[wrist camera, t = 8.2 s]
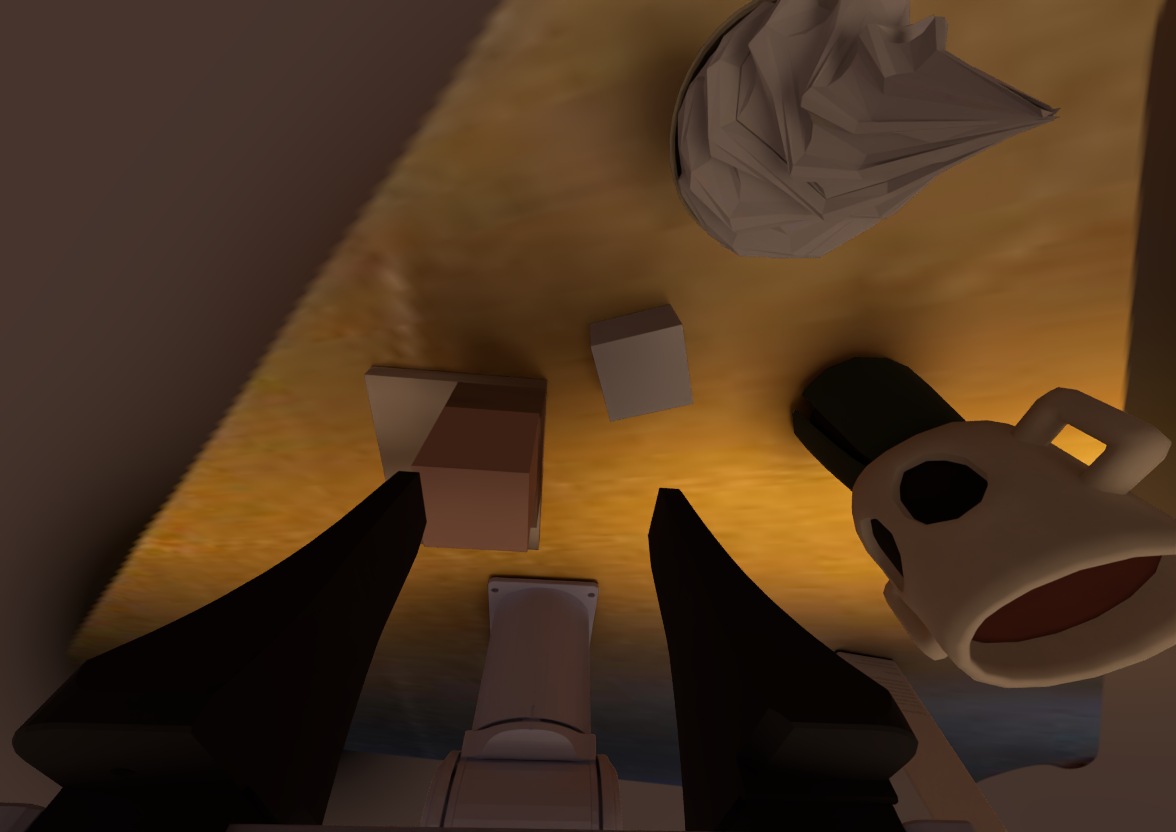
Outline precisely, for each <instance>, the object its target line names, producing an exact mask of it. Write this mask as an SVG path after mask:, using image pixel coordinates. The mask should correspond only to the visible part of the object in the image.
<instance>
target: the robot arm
mask: <svg viewBox="0 0 1176 832" xmlns="http://www.w3.org/2000/svg"><path fill="white" fill-rule="evenodd" d="M426 524H427V519H426V512H425V506H424V499H423V492H422V485H421V479H420V472H409V471H398V472H397V473H395V474H394V475H393V476H392V477H391V478H389V479H388V480H387V481H386V482H385V483H383V484H382V485H381V486H380V487H379V488H378V489H376V490H375V491H374V492H373V493H372V494H371V495H369V496H368V497H367V498H366V499H365V500H363V501H362V502H361V503H360V504H359V505H357V506H356V507H355V508H354V509H353V510H351V511H350V512H349V513H348V514H346V515H345V516H344V517H343V518H342V519H340V520H339V521H338V522H336V523H335V524H334V525H333V526H331V527H330V528H329V529H327V530H326V531H325V532H323V533H322V534H321V535H319V536H318V537H317V538H315V539H314V540H313V541H311V542H310V543H309V544H307V545H306V546H304V547H303V548H301V549H300V550H298V551H297V552H296V553H294V554H293V555H291V556H290V557H288V558H286V559H285V560H283V561H282V562H280V563H279V564H277V565H276V566H274V567H272V568H271V569H269V570H268V571H266V572H264V573H263V574H261V575H259V576H258V577H256V578H254V579H252V580H251V581H249V582H247V583H245V584H244V585H242V586H240V587H238V588H237V589H235V590H233V591H231V592H230V593H228V594H226V595H224V596H223V597H221V598H219V599H217V600H215V601H213V602H211V603H209V604H208V605H206V606H204V607H202V608H200V609H198V610H196V611H194V612H192V613H190V614H188V615H186V616H184V617H182V618H180V619H178V620H176V621H174V622H172V623H170V624H168V625H165V626H163V627H161V628H159V629H157V630H155V631H153V632H151V633H148V634H146V635H144V636H142V637H139V638H137V639H135V640H133V641H130V642H128V643H126V644H123V645H121V646H119V647H117V648H114V649H112V650H110V651H108V652H105V653H103V654H101V655H98V656H96V657H94V658H91V659H89V660H87V661H86V662H85V663H84V664H82V665H81V666H80V667H79V668H78V669H77V670H76V671H75V672H74V673H73V674H72V675H71V676H70V677H69V678H68V679H67V680H66V682H65V683H64V684H62V686H61V687H60V688H59V689H57V691H56V692H55V693H54V694H53V695H52V696H51V697H50V698H49V699H48V700H47V701H46V702H45V703H44V704H43V705H42V706H41V707H40V708H39V709H38V710H37V711H36V712H35V713H34V714H33V715H32V716H31V717H30V718H29V719H28V720H27V721H26V722H25V723H24V724H23V725H22V726H21V727H20V728H19V729H18V730H17V731H16V732H15V734H14V736H13V738H12V745H13V748H14V750H15V752H16V753H17V754H18V755H19V756H20V757H21V758H22V759H23V760H25V761H26V762H27V763H29V764H30V765H31V766H33V767H34V768H36V769H37V770H39V771H40V772H42V773H43V774H44V775H46V776H47V777H49V778H50V779H52V780H53V781H54V782H56V783H58V784H59V785H60V786H62V787H63V788H62V789H61V791H60V792H59V793H58V794H57V795H56V797H55V798H54V799H53V800H52V801H51V803H50V804H49V805H48V806H47V807H46V808H45V807H42V806H38V805H34V804H27V803H5V802H0V832H977V830H976V828H975V827H974V825H973V824H972V823H970V822H968V821H966V820H912V821H908V822H904V823H901V821H900V819H899V817H898V815H897V812H896V810H895V808H894V806H893V805H896V804H897V803H898V796H897V794H896V792H895V790H894V788H893V786H892V784H891V782H890V780H889V778H891V777H892V776H893V775H894V774H895V773H896V772H898V771H899V770H900V769H901V768H902V767H904V766H905V765H906V764H907V763H908V762H909V761H910V760H911V759H912V758H913V757H914V756H915V754H916V751H917V747H918V743H919V742H918V740H917V738H916V736H915V734H914V733H913V731H912V729H911V727H910V725H909V724H908V722H907V720H906V718H905V716H904V715H903V713H902V711H901V709H900V708H899V706H898V705H897V703H896V701H895V700H894V698H893V697H892V695H891V694H890V692H889V691H888V689H886V688H885V687H883V686H882V685H880V684H879V683H877V682H876V681H874V680H873V679H872V678H870V677H869V676H867V675H866V674H864V673H863V672H861V671H860V670H858V669H857V668H856V667H854V666H853V665H851V664H850V663H848V662H847V661H845V660H844V659H843V658H841V657H840V656H839V655H837V654H836V653H835V652H833V651H832V650H831V649H829V648H828V647H827V646H825V645H824V644H823V643H822V642H820V641H819V640H818V639H816V638H815V637H814V636H813V635H811V634H810V633H809V632H808V631H806V630H805V629H804V628H803V627H802V626H800V625H799V624H798V623H797V622H796V621H795V620H793V619H792V618H791V617H790V616H789V615H788V614H787V613H785V612H784V611H783V610H782V609H781V608H780V607H779V606H778V605H776V604H775V603H774V602H773V601H772V600H771V599H770V598H769V597H768V596H767V595H766V594H765V593H764V592H763V591H762V590H761V589H760V588H759V587H758V586H757V585H756V584H755V583H754V582H753V581H752V580H751V579H750V578H749V577H748V576H747V575H746V574H745V573H744V572H743V571H742V569H741V568H740V567H739V566H738V565H737V564H736V563H735V561H734V560H733V559H732V558H731V557H730V556H729V554H728V553H727V552H726V551H725V550H724V548H723V547H722V546H721V545H720V543H719V542H718V541H717V540H716V538H715V537H714V536H713V535H712V533H711V532H710V531H709V529H708V528H707V527H706V525H705V524H704V523H703V521H702V520H701V519H700V517H699V516H698V514H697V513H696V512H695V510H694V509H693V507H692V506H691V505H690V503H689V502H688V500H687V499H686V498H685V496H684V495H683V493H682V492H681V491H680V490H679V489H670V488H659V492H658V496H657V500H656V504H655V509H654V513H653V517H652V521H651V525H650V529H649V534H648V539H649V551H650V561H651V569H652V573H653V578H654V583H655V588H656V592H657V597H658V601H659V606H660V611H661V615H662V620H663V624H664V629H665V634H666V638H667V644H668V650H669V656H670V664H671V673H672V681H673V690H674V699H675V708H676V718H677V728H678V739H679V750H680V761H681V773H682V787H683V800H684V815H685V830H686V831H649V830H646V831H645V830H622V816H621V801H620V791H619V783H618V777H617V773H616V770H615V768H614V767H613V766H612V764H611V763H610V762H609V759H608V757H607V756H606V755H596V743H595V735H593V734H590V666H589V645H590V639H591V633H592V628H593V622H594V616H595V610H596V604H597V598H598V592H599V586H598V584H597V583H594V582H580V581H560V580H540V579H521V578H501V577H493V578H491V579H490V580H489V583H488V596H489V617H490V640H489V645H488V650H487V655H486V661H485V666H484V671H483V676H482V681H481V686H480V692H479V697H478V702H477V707H476V712H475V717H474V722H473V728H472V731H466V732H465V737H464V742H463V747H462V752H461V751H451V752H450V753H449V754H448V756H447V758H446V759H445V760H444V761H443V762H442V763H441V764H440V765H439V766H438V768H437V770H436V772H435V774H434V777H433V779H432V783H431V785H430V788H429V792H428V795H427V799H426V803H425V806H424V810H423V815H422V819H421V823H420V827H404V826H403V827H402V826H401V827H400V826H399V827H397V826H341V825H322V822H323V819H324V815H325V812H326V808H327V804H328V800H329V797H330V794H331V790H332V786H333V783H334V779H335V775H336V772H337V768H338V764H339V761H340V758H341V754H342V751H343V748H344V745H345V741H346V738H347V735H348V731H349V728H350V725H351V721H352V718H353V715H354V712H355V709H356V706H357V703H358V699H359V696H360V693H361V690H362V687H363V684H364V681H365V678H366V675H367V672H368V669H369V666H370V663H371V660H372V658H373V655H374V652H375V649H376V646H377V643H378V640H379V638H380V636H381V633H382V631H383V628H384V626H385V624H386V621H387V619H388V617H389V615H390V613H391V610H392V608H393V606H394V604H395V602H396V600H397V597H398V595H399V593H400V591H401V589H402V586H403V584H404V582H405V580H406V578H407V575H408V573H409V571H410V569H411V567H412V564H413V562H414V560H415V558H416V555H417V553H418V550H419V547H420V543H421V540H422V537H423V534H424V530H425V527H426Z"/></svg>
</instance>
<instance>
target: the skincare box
mask: <svg viewBox="0 0 1176 832" xmlns="http://www.w3.org/2000/svg"><path fill="white" fill-rule="evenodd" d="M836 654H837V655H839V656H840V657H841V658H843V659H844V660H845V661H847V662H848V663H850V664H851V665H853V666H854V667H856V668H857V669H858V670H860V671H861V672H863V673H864V674H866V675H867V676H869V677H870V678H872V679H873V680H874V681H876V682H877V683H879V684H880V685H882V686H883V687H885V688H886V689H888V691H889V692H890V694H891V695H892V697H893V698H894V700H895V701H896V703H897V705H898V706H899V708H900V709H901V711H902V713H903V715H904V716H905V718H906V720H907V722H908V724H909V725H910V727H911V729H912V731H913V733H914V734H915V736H916V738H917V740H918V742H919V743H918V747H917V751H916V754H915V756H914V757H913V758H912V759H911V760H910V761H909V762H908V763H907V764H906V765H905V766H904V767H902V768H901V769H900V770H899V771H898V772H896V773H895V774H894V775H893V776H892V777H891V778H889V780H890V782H891V784H892V786H893V788H894V790H895V792H896V794H897V796H898V803H897V804H896V805H893V806H894V808H895V810H896V812H897V815H898V817H899V819H900V821H901V823H904V822H908V821H912V820H966V821H968V822H970V823H972V824H973V825H974V827H975V828H976V830H977V832H1008V831H1007V830H1006V828H1005V827H1004V825H1003V824H1002V823H1001V821H1000V819H999V818H998V816H997V815H996V814H995V812H994V810H993V809H992V808H991V806H990V804H989V803H988V801H987V800H986V798H985V797H984V795H983V794H982V792H981V791H980V789H979V788H978V786H977V785H976V783H975V782H974V780H973V779H972V777H971V776H970V774H969V773H968V771H967V770H966V768H965V767H964V765H963V764H962V762H961V761H960V759H959V758H958V756H957V755H956V753H955V752H954V750H953V749H952V747H951V746H950V744H949V743H948V741H947V740H946V738H945V737H944V735H943V734H942V732H941V731H940V729H939V727H938V726H937V724H936V723H935V721H934V720H933V718H932V717H931V715H930V714H929V712H928V711H927V709H926V708H925V706H924V705H923V703H922V702H921V700H920V699H919V697H918V696H917V694H916V693H915V691H914V690H913V688H912V687H911V685H910V684H909V682H908V681H907V679H906V678H905V676H904V675H903V673H902V672H901V670H900V669H899V667H898V666H897V664H896V663H895V662H894V661H892V660H886V659H880V658H874V657H868V656H862V655H856V654H850V653H844V652H837V653H836Z"/></svg>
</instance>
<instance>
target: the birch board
mask: <svg viewBox="0 0 1176 832" xmlns="http://www.w3.org/2000/svg"><path fill="white" fill-rule="evenodd" d="M364 377H365V382H366V386H367V391H368V396H369V401H370V406H371V411H372V416H373V421H374V426H375V430H376V435H377V440H378V445H379V450H380V455H381V460H382V465H383V470H384V474H385V479H386V481H387V480H388V479H389V478H391V477H392V476H393V475H394V474H395V473H397V472H398V471H409V472H412V467H411V465H412V463H413V462H414V460H415V458H416V456H417V454H418V453H419V451H420V449H421V447H422V445H423V444H424V442H425V440H426V438H427V437H428V435H429V433H430V431H431V429H432V428H433V426H434V424H435V422H436V420H437V419H438V417H439V415H440V413H441V412H442V410H443V408H444V406H445V404H446V403H447V401H448V399H449V397H450V395H451V394H452V392H453V390H454V388H455V387H456V385H457V383H458V382H465V383H478V384H491V385H504V386H517V387H530V388H543V389H546V395H547V380H542V379H529V378H517V377H504V376H491V375H479V374H466V373H453V372H441V371H428V370H415V369H403V368H390V367H377V366H372V367H371V368H370V369H369V370H368V371H367V372H366V373H365V374H364ZM546 395H545V415H546ZM544 436H545V416H544ZM543 457H544V438H543ZM542 478H543V459H542ZM541 499H542V481H541V496H540V504H539V512H538V520H537V528H530V535H529V543H528V549H530V550H538V548H539V539H540V519H541ZM421 543H422V544H424V542H423V537H422V540H421Z"/></svg>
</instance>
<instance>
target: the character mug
mask: <svg viewBox="0 0 1176 832" xmlns="http://www.w3.org/2000/svg"><path fill="white" fill-rule="evenodd" d="M802 395H803V396H804V397H805V398H806V399H807V400H808V401H809V402H810V403H811V404H812V405H813V406H814V408H813V410H812V411H811V417H810V422H809V421H808V420H807V419H806V418H805V417H804V416H803V415H801V414H800V413H799V412H798V411H797V410H796V409H795V411H794V413H793V424H794V433H795V435H796V436H797V437H798V438H799V440H800V441H801V442H802V443H803V445H804V446H805V447H806V448H807V449H808V450H809V451H810V453H811V454H812V455H813V456H814V457H815V458H816V459H817V460H818V461H819V462H820V463H821V464H822V465H823V466H824V467H825V468H826V469H827V470H828V471H830V472H831V473H832V474H833V475H834V476H835V477H836V478H837V479H839V480H840V481H841V482H842V483H843V484H844V485H845V486H846V487H848V488H849V489H850V490H851V491H852V515H853V519H854V524H855V529H856V532H857V534H858V536H859V538H860V540H861V541H862V543H863V545H864V547H865V549H866V551H867V552H868V554H869V555H870V556H871V557H872V558H873V559H874V561H875V562H876V563H877V564H878V565H879V567H880V568H881V569H882V570H883V572H884V573H885V574H886V576H887V577H888V578H889V581H888V582H887V584H886V585H885V589H884V592H883V594H884V596H885V599H886V601H887V603H888V605H889V606H890V608H891V609H892V611H893V612H894V614H895V615H896V616H897V618H898V619H899V621H900V622H901V624H902V625H903V627H904V628H905V630H906V631H907V633H908V634H909V635H910V637H911V638H912V640H913V641H914V643H915V644H916V646H917V647H918V648H919V649H920V650H921V651H923V652H924V653H925V654H926V655H927V656H929V657H930V658H932V659H933V660H939V659H943V658H946V657H947V656H949V657H950V658H951V660H952V661H953V662H954V663H955V664H956V665H957V666H958V667H959V668H960V669H961V670H963V671H964V672H965V673H966V674H968V675H969V676H970V677H971V678H973V679H974V680H975V681H979V682H983V683H987V684H991V685H995V686H1000V687H1004V688H1021V687H1048V686H1053V685H1058V684H1063V683H1068V682H1073V681H1078V680H1084V679H1089V678H1094V677H1097V676H1100V675H1103V674H1106V673H1109V672H1112V671H1115V670H1117V669H1120V668H1124V667H1127V666H1129V665H1132V664H1135V663H1138V662H1141V661H1144V660H1147V659H1149V658H1150V657H1152V656H1154V655H1156V654H1158V653H1160V652H1162V651H1164V650H1166V649H1168V648H1170V647H1172V646H1174V645H1175V644H1176V519H1175V518H1174V517H1172V516H1170V515H1168V514H1167V513H1165V512H1164V511H1162V510H1161V509H1159V508H1157V507H1156V506H1154V505H1152V504H1151V503H1149V502H1147V501H1146V500H1144V499H1142V498H1141V497H1139V496H1137V495H1136V494H1134V493H1132V492H1131V491H1130V490H1131V489H1132V488H1133V487H1134V486H1135V485H1136V484H1138V483H1139V482H1140V481H1141V480H1142V479H1143V478H1144V477H1145V476H1146V475H1147V474H1148V473H1149V472H1151V471H1152V470H1153V469H1154V468H1155V467H1156V466H1157V465H1158V464H1159V463H1160V462H1161V461H1163V460H1164V459H1165V457H1166V454H1167V452H1168V450H1169V448H1170V446H1171V442H1170V440H1169V439H1168V438H1166V437H1165V436H1164V435H1163V434H1162V433H1161V432H1160V431H1159V430H1158V429H1157V428H1156V427H1155V426H1153V425H1151V424H1148V423H1146V422H1144V421H1142V420H1140V419H1138V418H1136V417H1134V416H1131V415H1129V414H1127V413H1125V412H1123V411H1121V410H1119V409H1116V408H1114V407H1112V406H1110V405H1108V404H1106V403H1104V402H1102V401H1099V400H1097V399H1095V398H1093V397H1091V396H1089V395H1087V394H1084V393H1082V392H1080V391H1078V390H1074V389H1067V388H1060V387H1058V388H1056V389H1053V390H1051V391H1049V392H1048V393H1046V394H1045V395H1043V396H1042V397H1040V398H1039V399H1037V400H1036V401H1035V403H1034V404H1033V405H1032V406H1031V408H1030V409H1029V410H1028V411H1027V412H1026V414H1025V415H1024V416H1023V417H1022V419H1021V420H1020V421H1019V422H1018V423H1017V425H1016V426H1013V425H1010V424H1006V423H1000V422H994V421H988V420H985V421H965V420H964V419H963V418H962V417H961V416H960V415H959V414H958V413H957V412H956V411H955V410H954V409H953V408H952V407H951V406H950V405H949V404H948V403H947V402H946V401H945V400H944V399H943V398H942V397H941V396H940V395H939V394H938V393H937V392H936V391H935V390H934V389H933V388H932V387H931V386H930V385H928V384H927V383H926V382H925V381H924V380H923V379H921V378H920V377H919V376H918V375H917V374H916V373H914V372H913V371H912V370H911V369H910V368H909V367H907V366H905V365H902V364H900V363H898V362H895V361H893V360H891V359H888V358H869V357H854V358H852V359H850V360H847V361H845V362H843V363H841V364H838V365H836V366H834V367H831V368H829V369H827V370H825V371H824V372H823V373H822V374H821V375H820V376H818V377H817V378H816V379H815V380H814V381H813V382H812V383H811V384H809V385H808V386H807V387H806V388H805V390H804V392H803V394H802ZM1067 424H1070V425H1071V426H1073V427H1075V428H1077V429H1079V430H1080V431H1082V432H1084V433H1086V434H1088V435H1090V436H1091V437H1093V438H1095V439H1097V440H1099V441H1101V442H1102V443H1104V444H1106V445H1107V446H1106V449H1105V451H1104V452H1103V453H1102V454H1101V455H1100V456H1099V457H1098V458H1097V459H1096V460H1095V461H1094V462H1093V463H1092V464H1091V465H1090V466H1088V465H1086V464H1085V463H1083V462H1081V461H1080V460H1078V459H1076V458H1075V457H1073V456H1071V455H1070V454H1068V453H1067V452H1065V451H1063V450H1062V449H1060V448H1058V447H1057V446H1055V445H1053V444H1052V443H1051V442H1052V440H1053V439H1054V438H1055V437H1056V436H1057V435H1058V434H1059V433H1060V431H1061V430H1062V429H1063V428H1064V427H1065V426H1066V425H1067Z"/></svg>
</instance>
